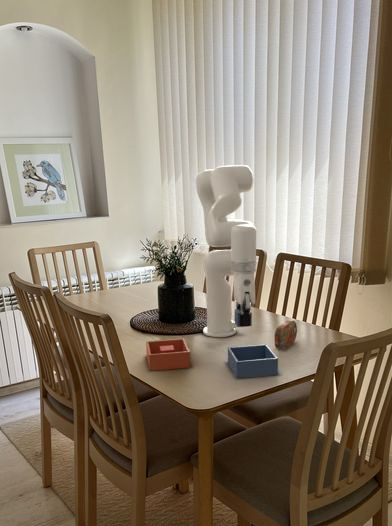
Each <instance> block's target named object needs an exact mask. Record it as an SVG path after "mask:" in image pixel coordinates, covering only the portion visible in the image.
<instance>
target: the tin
mask: <svg viewBox="0 0 392 526" xmlns="http://www.w3.org/2000/svg"><path fill="white" fill-rule="evenodd" d="M297 334H298V326H297V322H296V321H295V320H286V321H284V322H282V323H281V324H280V325H278V327H276V329H275V331H274V347H275V348H276V349H277V350H283V351H285V350H287V349H288V348H290V346H292V345H293V344H294V343H295V342H296V340H297Z"/></svg>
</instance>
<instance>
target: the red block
mask: <svg viewBox="0 0 392 526" xmlns="http://www.w3.org/2000/svg"><path fill="white" fill-rule="evenodd" d="M173 352H175V350H174V347H173V345H169V346H160V353H173Z"/></svg>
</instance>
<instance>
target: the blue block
mask: <svg viewBox="0 0 392 526" xmlns="http://www.w3.org/2000/svg"><path fill="white" fill-rule="evenodd" d="M240 314H241V309H236V308H234V322H235V324H236V325H237V327H236V328H241V327H240ZM252 326H253V312H252V310H250V326H249V327H252Z"/></svg>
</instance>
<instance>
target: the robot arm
mask: <svg viewBox="0 0 392 526" xmlns="http://www.w3.org/2000/svg"><path fill="white" fill-rule="evenodd" d="M195 177H196V178H195V187H196V192H197V196H198V199H199V201H200V204H201V206H202V209H203V223H204V235H205V242H206V244H207V245H208V246H210V247H212V248H213V247H214V248H222V247H224V248H225V247H230V249H218V250H217V249H216V250H210V251H208V252H207V253H205V255H204V256H203V259H202V260H203V262H202V263H203V269H204V276H205V287H206V291H205V292H206V326H205V327H204V328H203V329H202V332H203V335H205V336H207V337H211V338H226V337H231V336H234V335H235V334H236V332H237V330H236V329H237V328H238V327H237V325H236V324H235V321H234V319H233V304H232V303H233V299H232V297H233V298H234V301H236V304H235V309H241V314H240V327H239V328H246V327H247V328H248V327H251V326H250V311H251V309H252V306H255V305H256V283H255V281H256V280H255V273H256V271H257V228H256V227H255V225H254V224H253V223H252V222H251V221H249V220H243V219H228V216H229V215H231V214H233V213H234V212H236V211H237V210H239V209H240V207H241V206H242V203H243V199H242V198H243V197H242V194H243V193H247V192H250V191H251V190H252V189H253V186H254V179H255V178H254V174H253V171H252V169H251V167H249V166H248V165H245V164H243V165H240V164H239V165H221V166H217V167H214V169H205V170H202V171H200V172H198V173H197V175H196V176H195ZM231 276H232V277H233V290H232V285H231V284H230V282H229V281H228V280H227V279H226V277H231ZM232 292H233V293H232ZM232 295H233V296H232Z"/></svg>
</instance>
